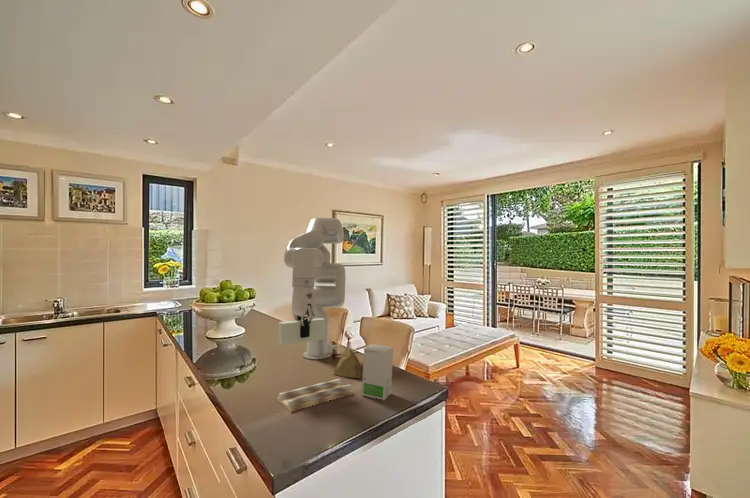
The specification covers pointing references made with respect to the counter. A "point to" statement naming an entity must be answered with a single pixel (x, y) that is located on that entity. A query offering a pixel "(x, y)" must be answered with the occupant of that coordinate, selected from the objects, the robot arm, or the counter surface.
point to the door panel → (291, 331)
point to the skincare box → (377, 371)
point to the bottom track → (314, 394)
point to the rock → (348, 365)
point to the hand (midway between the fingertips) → (302, 335)
